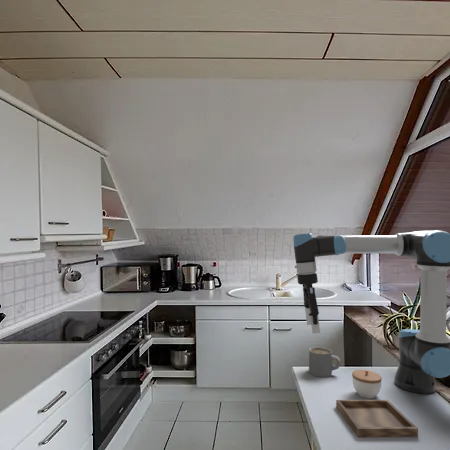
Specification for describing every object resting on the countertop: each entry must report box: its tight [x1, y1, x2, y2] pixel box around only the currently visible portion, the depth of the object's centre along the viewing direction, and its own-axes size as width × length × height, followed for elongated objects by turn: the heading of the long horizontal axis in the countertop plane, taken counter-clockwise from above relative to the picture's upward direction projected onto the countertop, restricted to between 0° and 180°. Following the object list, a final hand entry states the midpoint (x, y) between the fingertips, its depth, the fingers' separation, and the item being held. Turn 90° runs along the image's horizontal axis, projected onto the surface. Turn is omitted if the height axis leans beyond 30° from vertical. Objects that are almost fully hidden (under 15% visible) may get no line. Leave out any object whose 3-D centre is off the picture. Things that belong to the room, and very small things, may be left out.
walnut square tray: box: [335, 399, 419, 438], centre depth 120 cm, size 19×19×2 cm
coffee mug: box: [308, 346, 341, 378], centre depth 160 cm, size 13×10×10 cm
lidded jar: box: [351, 369, 383, 399], centre depth 139 cm, size 11×11×9 cm
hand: (313, 328), depth 137 cm, fingers open, 13 cm apart
